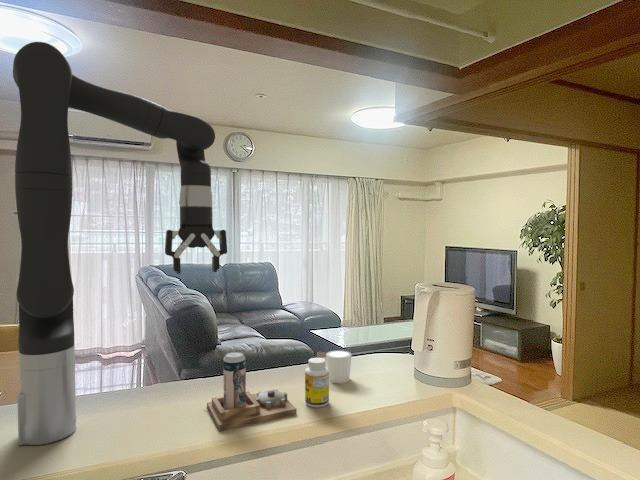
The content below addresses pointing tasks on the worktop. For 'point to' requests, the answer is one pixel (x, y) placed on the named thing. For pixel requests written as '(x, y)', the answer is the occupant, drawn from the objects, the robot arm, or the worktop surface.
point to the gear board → (251, 409)
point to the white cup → (339, 366)
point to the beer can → (234, 380)
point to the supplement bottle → (317, 383)
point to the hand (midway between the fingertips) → (196, 272)
